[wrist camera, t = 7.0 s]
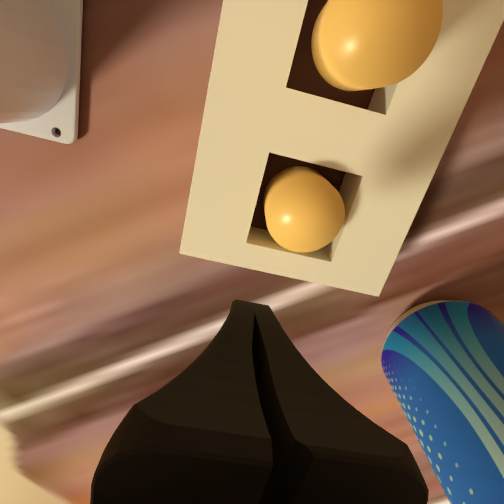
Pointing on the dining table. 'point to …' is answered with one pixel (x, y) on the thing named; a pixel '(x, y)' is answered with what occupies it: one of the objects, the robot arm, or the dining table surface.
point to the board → (324, 142)
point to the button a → (302, 209)
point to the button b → (374, 40)
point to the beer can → (453, 393)
